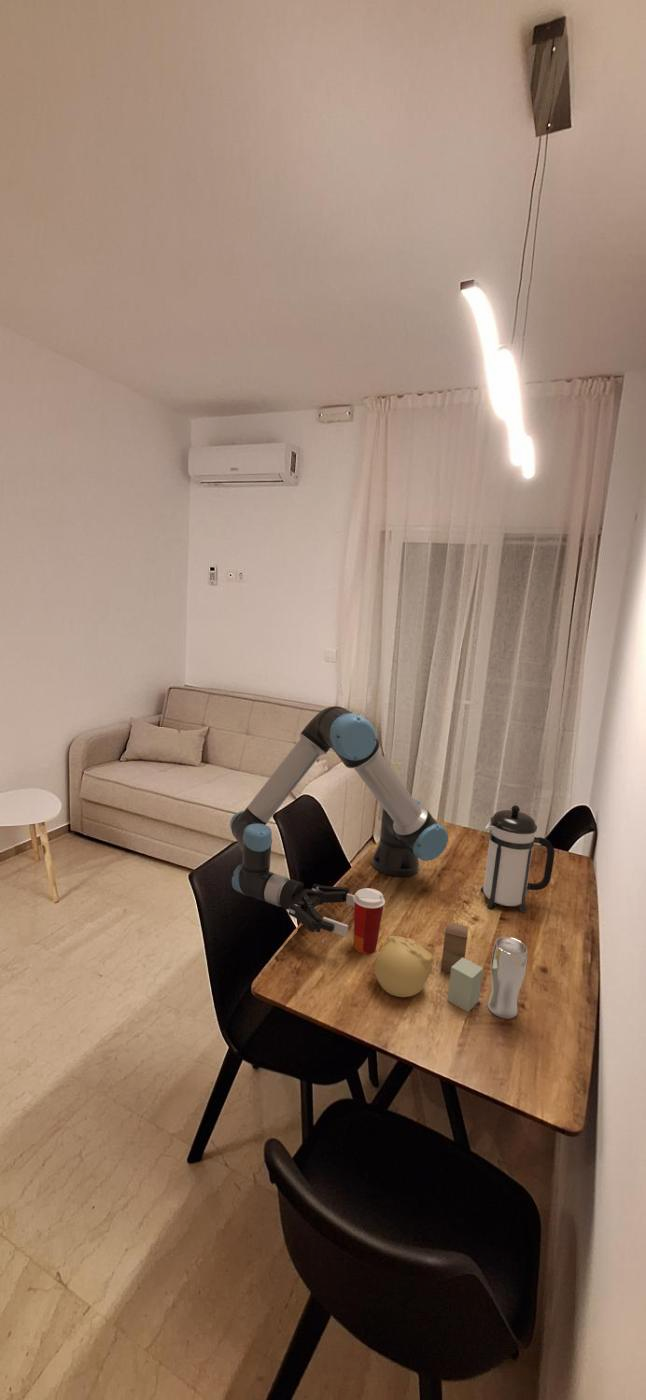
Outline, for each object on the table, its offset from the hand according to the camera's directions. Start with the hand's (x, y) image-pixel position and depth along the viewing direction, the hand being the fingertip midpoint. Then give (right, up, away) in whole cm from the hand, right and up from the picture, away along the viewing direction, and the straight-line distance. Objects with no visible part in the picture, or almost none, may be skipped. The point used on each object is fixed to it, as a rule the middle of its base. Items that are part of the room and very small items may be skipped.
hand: (359, 918), depth 139 cm
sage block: (+22, -12, -16) cm, 29 cm away
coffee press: (+46, -6, +29) cm, 54 cm away
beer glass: (+30, -13, -18) cm, 37 cm away
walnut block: (+22, -10, -5) cm, 24 cm away
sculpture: (+8, -11, -13) cm, 19 cm away
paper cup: (+1, -8, +1) cm, 8 cm away
